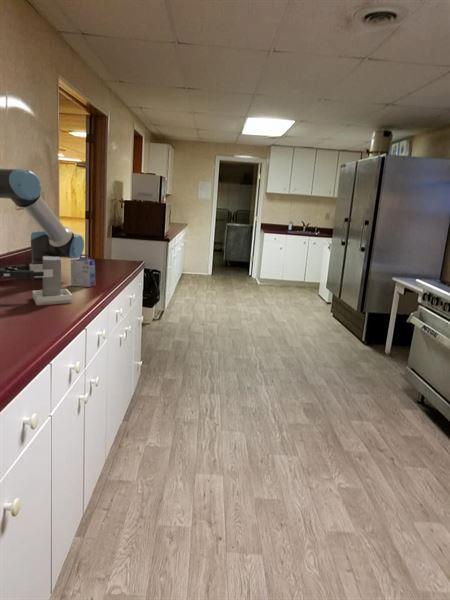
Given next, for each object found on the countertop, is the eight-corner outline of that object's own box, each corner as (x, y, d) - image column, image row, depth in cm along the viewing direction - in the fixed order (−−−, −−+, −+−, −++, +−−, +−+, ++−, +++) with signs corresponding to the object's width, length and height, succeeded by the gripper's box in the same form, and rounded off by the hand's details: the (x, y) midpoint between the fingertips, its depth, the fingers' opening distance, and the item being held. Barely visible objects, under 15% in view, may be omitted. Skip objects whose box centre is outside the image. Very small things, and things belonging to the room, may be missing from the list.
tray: (33, 298, 170) (32, 290, 170) (67, 295, 177) (66, 288, 176) (36, 305, 159) (36, 297, 159) (72, 302, 166) (72, 295, 165)
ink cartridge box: (96, 285, 200) (95, 254, 197) (90, 287, 195) (89, 256, 192) (77, 283, 202) (76, 253, 199) (70, 285, 197) (69, 254, 193)
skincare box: (42, 295, 170) (40, 256, 166) (61, 294, 173) (59, 255, 169) (43, 300, 162) (41, 259, 159) (63, 299, 165) (61, 258, 162)
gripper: (-13, 277, 166) (46, 274, 176) (-11, 289, 145) (55, 285, 155) (-14, 257, 164) (45, 256, 175) (-13, 267, 143) (54, 265, 154)
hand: (50, 270), depth 165 cm, fingers open, 13 cm apart
